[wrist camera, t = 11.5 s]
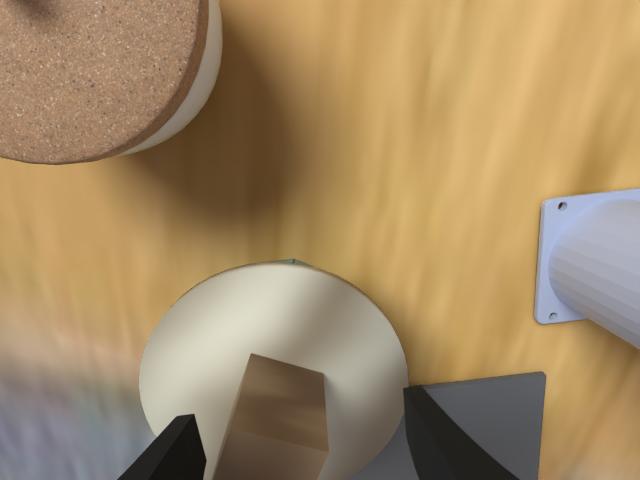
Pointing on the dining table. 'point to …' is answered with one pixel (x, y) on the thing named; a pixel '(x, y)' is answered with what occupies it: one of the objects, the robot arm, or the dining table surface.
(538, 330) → the dining table surface
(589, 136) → the dining table surface
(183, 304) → the lid
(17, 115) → the lidded jar
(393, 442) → the mat
